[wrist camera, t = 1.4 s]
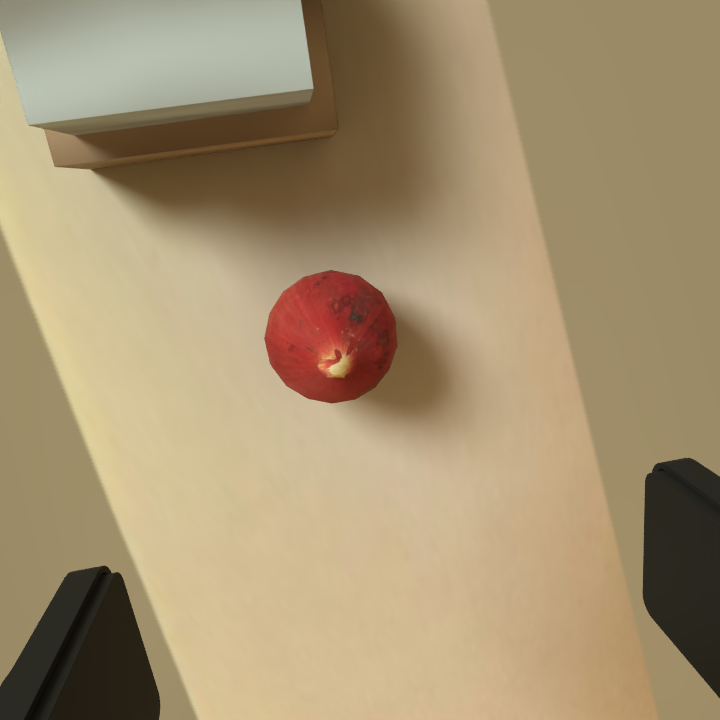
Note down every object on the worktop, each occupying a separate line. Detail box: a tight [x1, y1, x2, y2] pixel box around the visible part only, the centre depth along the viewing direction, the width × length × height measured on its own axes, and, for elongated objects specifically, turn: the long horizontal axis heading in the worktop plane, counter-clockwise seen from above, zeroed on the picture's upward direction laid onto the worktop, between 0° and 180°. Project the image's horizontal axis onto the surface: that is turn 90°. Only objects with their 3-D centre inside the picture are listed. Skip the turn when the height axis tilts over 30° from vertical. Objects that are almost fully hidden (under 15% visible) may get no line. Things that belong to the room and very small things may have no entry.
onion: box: [265, 270, 397, 403], centre depth 25 cm, size 6×6×8 cm
